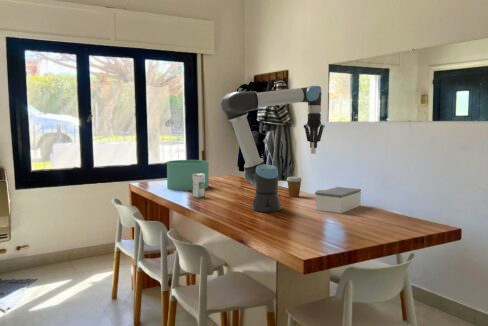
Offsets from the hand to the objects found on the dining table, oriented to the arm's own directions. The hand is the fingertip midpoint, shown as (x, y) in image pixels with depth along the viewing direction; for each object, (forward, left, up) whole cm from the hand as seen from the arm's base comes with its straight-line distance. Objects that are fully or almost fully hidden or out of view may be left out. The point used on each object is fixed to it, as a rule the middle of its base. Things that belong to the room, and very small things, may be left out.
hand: (313, 153), depth 240 cm
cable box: (-7, -20, -28) cm, 35 cm away
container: (-7, +97, -29) cm, 101 cm away
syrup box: (-31, +63, -29) cm, 76 cm away
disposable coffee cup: (+9, +18, -29) cm, 35 cm away
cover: (-7, -20, -20) cm, 29 cm away
